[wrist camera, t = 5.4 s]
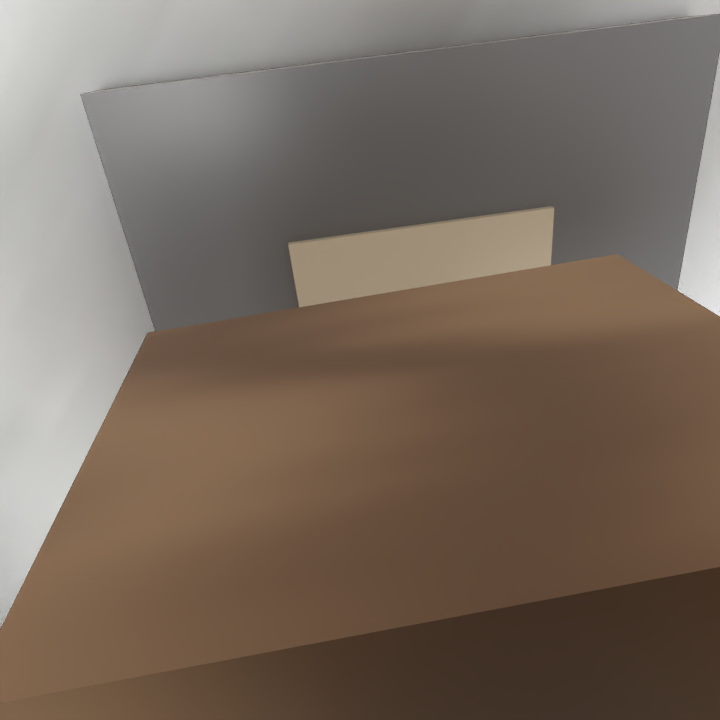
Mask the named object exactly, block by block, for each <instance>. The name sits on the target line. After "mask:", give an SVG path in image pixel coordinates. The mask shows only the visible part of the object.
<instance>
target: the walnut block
mask: <svg viewBox="0 0 720 720" xmlns="http://www.w3.org/2000/svg"><path fill="white" fill-rule="evenodd" d="M0 720H720V316H718V315H716V314H715V313H713V312H711V311H710V310H708V309H706V308H705V307H703V306H702V305H700V304H698V303H697V302H695V301H693V300H692V299H690V298H688V297H687V296H685V295H684V294H682V293H680V292H679V291H677V290H675V289H674V288H672V287H670V286H669V285H667V284H665V283H664V282H662V281H661V280H659V279H657V278H656V277H654V276H652V275H651V274H649V273H647V272H646V271H644V270H643V269H641V268H639V267H638V266H636V265H634V264H633V263H631V262H629V261H628V260H626V259H625V258H623V257H621V256H620V255H618V254H615V255H609V256H603V257H597V258H591V259H585V260H579V261H573V262H567V263H561V264H555V265H549V266H543V267H537V268H532V269H526V270H520V271H514V272H508V273H502V274H496V275H490V276H484V277H478V278H472V279H466V280H460V281H454V282H448V283H442V284H436V285H430V286H424V287H418V288H412V289H406V290H400V291H394V292H388V293H382V294H376V295H370V296H364V297H358V298H352V299H346V300H340V301H334V302H328V303H322V304H317V305H311V306H305V307H299V308H293V309H287V310H281V311H275V312H269V313H263V314H257V315H251V316H245V317H239V318H233V319H227V320H221V321H215V322H209V323H203V324H197V325H191V326H185V327H179V328H173V329H167V330H161V331H155V332H149V333H147V335H146V337H145V339H144V341H143V343H142V345H141V347H140V349H139V351H138V353H137V355H136V357H135V359H134V361H133V363H132V365H131V367H130V369H129V371H128V373H127V375H126V377H125V379H124V381H123V383H122V385H121V387H120V390H119V392H118V394H117V396H116V398H115V400H114V402H113V404H112V406H111V408H110V410H109V412H108V414H107V416H106V418H105V420H104V422H103V424H102V426H101V428H100V430H99V432H98V434H97V436H96V438H95V440H94V442H93V444H92V446H91V448H90V450H89V452H88V454H87V456H86V458H85V460H84V462H83V464H82V466H81V468H80V470H79V472H78V474H77V476H76V478H75V480H74V482H73V484H72V486H71V488H70V490H69V492H68V494H67V496H66V498H65V500H64V502H63V504H62V506H61V508H60V510H59V512H58V514H57V516H56V518H55V520H54V522H53V524H52V526H51V528H50V530H49V532H48V534H47V536H46V539H45V541H44V543H43V545H42V547H41V549H40V551H39V553H38V555H37V557H36V559H35V561H34V563H33V565H32V567H31V569H30V571H29V573H28V575H27V577H26V579H25V581H24V583H23V585H22V587H21V589H20V591H19V593H18V595H17V597H16V599H15V601H14V603H13V605H12V607H11V609H10V611H9V613H8V615H7V617H6V619H5V621H4V623H3V625H2V627H1V629H0Z"/></svg>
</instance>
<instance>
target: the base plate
mask: <svg viewBox="0 0 720 720" xmlns="http://www.w3.org/2000/svg"><path fill="white" fill-rule="evenodd" d="M719 52H720V14H713V15H701V16H689V17H681V18H673V19H665V20H657V21H649V22H641V23H633V24H625V25H617V26H609V27H601V28H593V29H585V30H577V31H569V32H561V33H553V34H545V35H537V36H529V37H521V38H513V39H505V40H497V41H489V42H481V43H473V44H465V45H457V46H449V47H441V48H433V49H425V50H417V51H409V52H401V53H393V54H385V55H377V56H369V57H361V58H353V59H345V60H337V61H329V62H321V63H313V64H305V65H297V66H289V67H281V68H273V69H265V70H257V71H249V72H241V73H233V74H225V75H217V76H209V77H201V78H193V79H185V80H177V81H169V82H161V83H153V84H145V85H137V86H129V87H121V88H113V89H105V90H97V91H93V92H88V93H83V94H80V95H81V98H82V101H83V104H84V108H85V111H86V114H87V117H88V120H89V123H90V127H91V130H92V133H93V136H94V139H95V142H96V146H97V149H98V152H99V155H100V158H101V161H102V164H103V168H104V171H105V174H106V177H107V180H108V183H109V187H110V190H111V193H112V196H113V199H114V202H115V205H116V209H117V212H118V215H119V218H120V221H121V224H122V228H123V231H124V234H125V237H126V240H127V243H128V246H129V250H130V253H131V256H132V259H133V262H134V265H135V269H136V272H137V275H138V278H139V281H140V284H141V288H142V291H143V294H144V297H145V300H146V303H147V306H148V310H149V313H150V316H151V319H152V322H153V325H154V329H155V331H161V330H167V329H173V328H179V327H185V326H191V325H197V324H203V323H209V322H215V321H221V320H227V319H233V318H239V317H245V316H251V315H257V314H263V313H269V312H275V311H281V310H287V309H293V308H299V307H305V306H311V305H317V304H322V303H328V302H334V301H340V300H346V299H352V298H358V297H364V296H370V295H376V294H382V293H388V292H394V291H400V290H406V289H412V288H418V287H424V286H430V285H436V284H442V283H448V282H454V281H460V280H466V279H472V278H478V277H484V276H490V275H496V274H502V273H508V272H514V271H520V270H526V269H532V268H537V267H543V266H549V265H555V264H561V263H567V262H573V261H579V260H585V259H591V258H597V257H603V256H609V255H615V254H618V255H620V256H621V257H623V258H625V259H626V260H628V261H629V262H631V263H633V264H634V265H636V266H638V267H639V268H641V269H643V270H644V271H646V272H647V273H649V274H651V275H652V276H654V277H656V278H657V279H659V280H661V281H662V282H664V283H665V284H667V285H669V286H670V287H672V288H674V289H675V290H677V289H678V283H679V277H680V272H681V266H682V261H683V255H684V249H685V244H686V238H687V232H688V227H689V221H690V216H691V210H692V204H693V199H694V193H695V187H696V182H697V176H698V171H699V165H700V159H701V154H702V148H703V142H704V137H705V131H706V126H707V120H708V114H709V109H710V103H711V97H712V92H713V86H714V81H715V75H716V69H717V64H718V58H719Z"/></svg>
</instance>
